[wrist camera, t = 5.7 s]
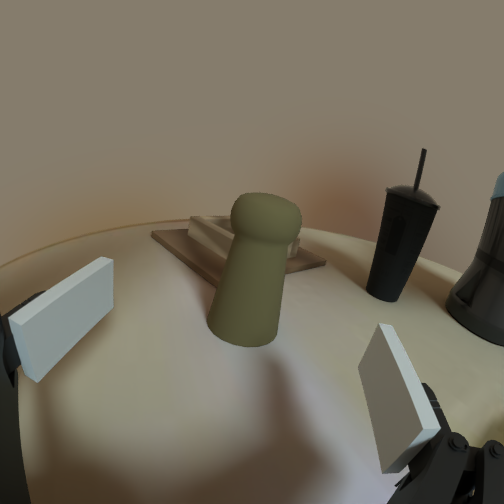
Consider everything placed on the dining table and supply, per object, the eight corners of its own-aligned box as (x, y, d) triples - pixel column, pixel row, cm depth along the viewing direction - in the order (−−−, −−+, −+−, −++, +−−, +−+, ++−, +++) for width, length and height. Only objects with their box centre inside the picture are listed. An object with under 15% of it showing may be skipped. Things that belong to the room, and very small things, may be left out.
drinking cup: (415, 311, 34) (462, 160, 27) (365, 302, 34) (413, 138, 27) (395, 286, 41) (433, 157, 35) (350, 277, 41) (387, 140, 35)
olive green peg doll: (198, 307, 26) (218, 182, 22) (258, 304, 29) (285, 192, 25) (220, 350, 21) (250, 200, 17) (289, 342, 24) (328, 211, 20)
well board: (252, 230, 54) (256, 211, 53) (324, 264, 44) (331, 243, 43) (151, 236, 40) (153, 212, 39) (218, 288, 30) (223, 257, 29)
